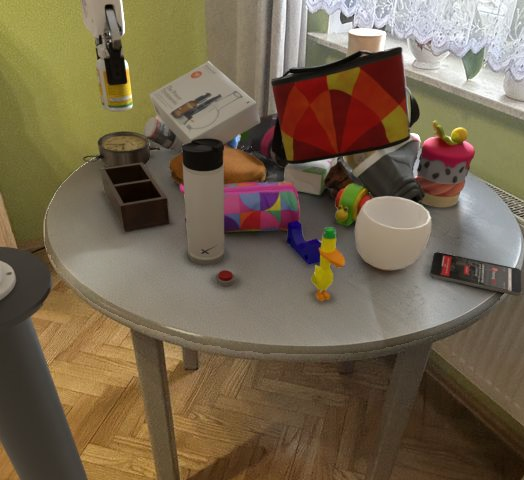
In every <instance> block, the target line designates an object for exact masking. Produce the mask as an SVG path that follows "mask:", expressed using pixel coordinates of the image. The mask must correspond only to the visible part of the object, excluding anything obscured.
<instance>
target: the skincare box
mask: <svg viewBox="0 0 524 480" xmlns="http://www.w3.org/2000/svg"><path fill="white" fill-rule="evenodd" d="M148 97H149V99H150V101H151V104H152V106H153V109H154V112H155V115H158V116H159V117H160V119H161V120H162V121H163V122H164V123H165V124H166V125H167V126H168V127H169V128H170V129H171V131H172V132H173V133H174V134H175V135H176V136H177V137H178V138H179V140H180V141H181V142H182V143H183V145H185V144H187V143H191V141H192V140H196V139H203V138H211V139H218V140H220V141H222V142H223V144H225V143H227V142H228V141H230V140H232V139H233V138H235V137H237V136H238V135H239V136H241V133H243V132H245V131H247V130H248V129H250V128H252V127H254V126H255V125H257V124H259V123H260V117H261V116H260V114H259V109H258V105H257V104H258V103H257V102H256V101H255V100H254V99H253V98H252V97H250V96H249V95H248V94H247V93H246V92H245V91H244V90H243V89H241V88H240V87H239V86H238V85H237V84H236V83H234V82H233V80H231V79H230V78H229V77H228V76H227V75H225V73H223V72H222V71H220V69H218V68H217V66H215V65H214V64H212V62H210V61H209V60H208V61H206V62H205V63H203V64H200V65H199V66H197V67H195V68H193V69H192V70H189V71H188V72H186V73H185V74H182V75H181V76H179V77H178V78H176V79H174V80H172V81H170V82H169V83H167V84H165V85H163V86H162V87H159V88H158V89H155V90H154V91H152V92H149V94H148Z"/></svg>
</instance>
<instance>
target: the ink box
mask: <svg viewBox="0 0 524 480" xmlns="http://www.w3.org/2000/svg"><path fill="white" fill-rule="evenodd" d="M337 162H338V157H337V158H331V159H325V160H319V161H313V162H307V163H302V164H289V163H288V164H287V166H286V167H285V168H284V175H283V182H287V181H293V183H294V187H295V188H296V189H297V192H299V193H301V192H302V193H306V194H311V195H315V196H321V195H322V193H323V192H324V190H326V188H327V186H326V185H325V183H324V180H325V178H326V176H327V174H328V172H329V170H330V168H331V167H333V166H335V165H336V164H337Z"/></svg>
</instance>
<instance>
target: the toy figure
mask: <svg viewBox="0 0 524 480" xmlns="http://www.w3.org/2000/svg"><path fill="white" fill-rule="evenodd" d="M337 237H338V235H337V234H336V229H335V227H333V226H327V227H325V228H324V233H322V236H321V241H320V242H321V247H320V248H319V251H320V262H319V265H317V263H315V264H314V272H313V274H311V276H310V277H311V278H310V281H311V282H312V284H314V286H315V288H316V289H317V292H316V293H315V296H316V299H317V300H318V301H320V302H324V301H325V300H327V301H329V300H331V295H330V293H329V292H327V291H326V290H327V289H328V288H329V287H330V286H331V285H333V282H334V280H335V279H334V272H333V271H332V268H331V265H332V266H333V267H335V268H336V269H338V268H343V267H344V266H345V265H346V259H345V257H344V255H343V254H342V253H341V252H340V250H339V249H338V248H336V244H337Z"/></svg>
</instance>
